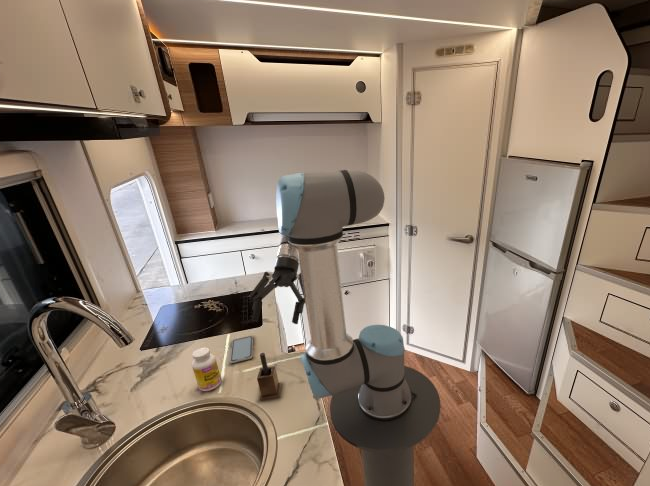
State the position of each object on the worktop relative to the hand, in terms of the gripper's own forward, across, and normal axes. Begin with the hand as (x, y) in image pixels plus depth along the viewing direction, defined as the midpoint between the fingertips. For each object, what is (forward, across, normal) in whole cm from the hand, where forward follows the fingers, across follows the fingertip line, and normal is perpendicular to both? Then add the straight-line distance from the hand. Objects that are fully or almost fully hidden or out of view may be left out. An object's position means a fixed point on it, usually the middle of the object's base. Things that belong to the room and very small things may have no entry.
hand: (274, 322), depth 99 cm
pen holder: (+20, 0, -8) cm, 22 cm away
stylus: (+20, 0, -7) cm, 21 cm away
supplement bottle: (+20, +22, -8) cm, 31 cm away
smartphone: (+7, +22, -21) cm, 31 cm away
